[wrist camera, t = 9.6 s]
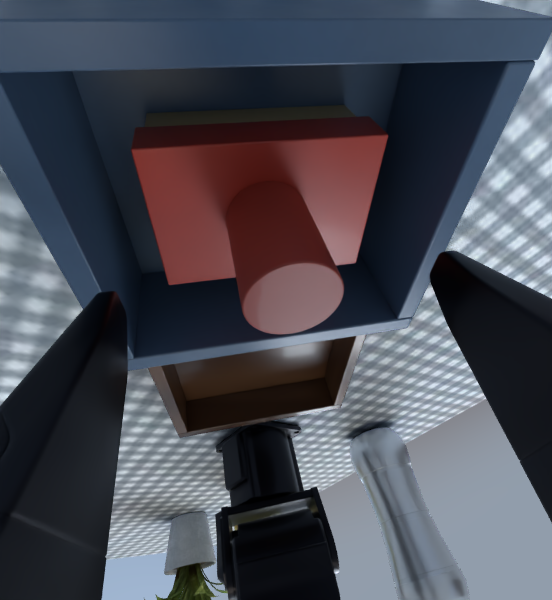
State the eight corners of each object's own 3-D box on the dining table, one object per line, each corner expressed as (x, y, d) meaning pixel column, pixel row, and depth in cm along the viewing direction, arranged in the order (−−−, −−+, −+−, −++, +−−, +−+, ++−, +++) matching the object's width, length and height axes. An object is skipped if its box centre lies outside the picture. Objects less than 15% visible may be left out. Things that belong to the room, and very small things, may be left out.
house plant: (241, 491, 48) (262, 655, 37) (245, 515, 58) (262, 649, 47) (135, 514, 46) (124, 696, 35) (158, 534, 56) (154, 680, 45)
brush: (351, 98, 13) (462, 203, 8) (331, 217, 17) (398, 340, 12) (138, 106, 12) (112, 236, 7) (169, 233, 15) (167, 376, 10)
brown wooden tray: (329, 375, 29) (340, 408, 27) (178, 400, 27) (179, 438, 25) (352, 287, 22) (370, 324, 19) (146, 314, 20) (143, 357, 18)
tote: (363, 252, 20) (408, 328, 16) (130, 278, 18) (119, 373, 14) (433, -11, 11) (559, 18, 8) (17, -16, 9) (-85, 19, 6)
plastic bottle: (350, 448, 44) (427, 673, 31) (338, 433, 39) (423, 692, 26) (398, 432, 43) (500, 656, 30) (392, 413, 38) (510, 672, 25)
